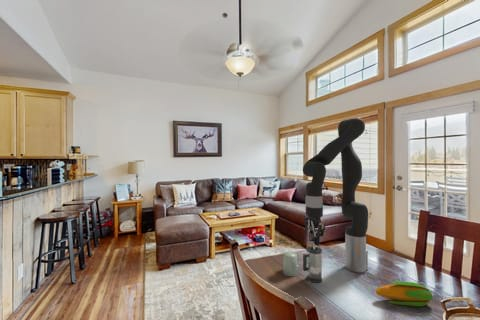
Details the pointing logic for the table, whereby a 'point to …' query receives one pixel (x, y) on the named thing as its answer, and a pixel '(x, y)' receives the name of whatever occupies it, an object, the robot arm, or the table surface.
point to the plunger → (312, 239)
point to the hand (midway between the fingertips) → (314, 242)
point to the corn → (406, 293)
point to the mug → (290, 263)
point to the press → (313, 264)
